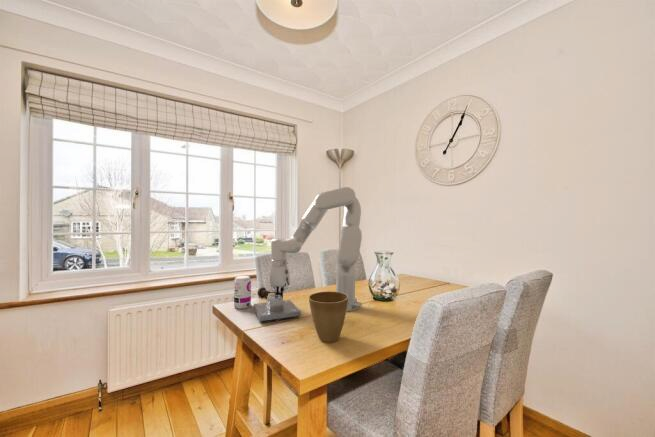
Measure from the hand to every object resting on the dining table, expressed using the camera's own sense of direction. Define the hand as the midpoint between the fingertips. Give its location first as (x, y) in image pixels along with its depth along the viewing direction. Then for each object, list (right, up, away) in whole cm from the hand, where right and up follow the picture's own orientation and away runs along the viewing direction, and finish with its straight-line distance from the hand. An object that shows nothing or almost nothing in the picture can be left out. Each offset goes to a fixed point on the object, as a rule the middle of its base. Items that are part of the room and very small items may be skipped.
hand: (279, 299), depth 141 cm
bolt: (-9, -4, +16) cm, 19 cm away
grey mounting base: (-1, -4, -8) cm, 9 cm away
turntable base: (0, -4, -9) cm, 10 cm away
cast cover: (-1, -1, -9) cm, 9 cm away
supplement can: (-19, -4, +2) cm, 20 cm away
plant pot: (+24, -5, -34) cm, 42 cm away
